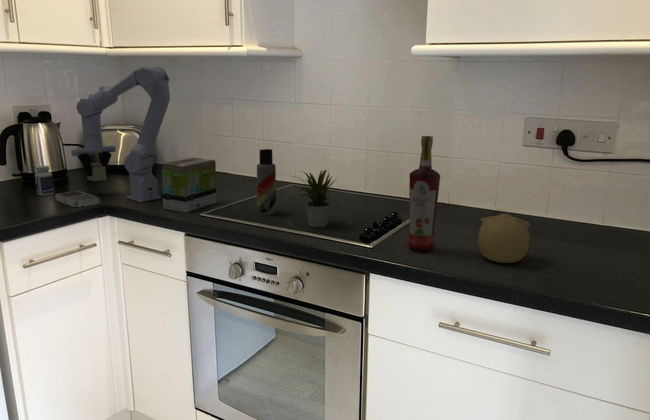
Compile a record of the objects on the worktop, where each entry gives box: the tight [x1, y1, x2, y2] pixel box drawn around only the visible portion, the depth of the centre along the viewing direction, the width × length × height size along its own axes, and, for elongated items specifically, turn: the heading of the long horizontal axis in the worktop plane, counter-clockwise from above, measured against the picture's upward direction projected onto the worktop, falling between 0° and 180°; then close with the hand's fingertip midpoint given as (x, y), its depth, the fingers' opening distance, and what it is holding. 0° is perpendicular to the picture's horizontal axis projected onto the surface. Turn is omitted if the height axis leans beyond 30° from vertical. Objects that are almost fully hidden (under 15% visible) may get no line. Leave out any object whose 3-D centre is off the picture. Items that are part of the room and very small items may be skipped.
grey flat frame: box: [54, 190, 101, 208], centre depth 174 cm, size 15×8×2 cm, turn 49°
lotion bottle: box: [256, 148, 277, 216], centre depth 161 cm, size 6×6×20 cm
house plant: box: [291, 169, 338, 228], centre depth 151 cm, size 14×14×16 cm
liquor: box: [406, 135, 441, 253], centre depth 128 cm, size 7×7×28 cm
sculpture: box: [477, 213, 531, 264], centre depth 124 cm, size 11×12×11 cm
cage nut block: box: [86, 162, 107, 182], centre depth 181 cm, size 4×4×6 cm
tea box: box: [161, 157, 217, 213], centre depth 169 cm, size 15×10×15 cm, turn 155°
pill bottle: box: [34, 165, 55, 197], centre depth 183 cm, size 5×5×10 cm
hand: (96, 174), depth 181 cm, fingers closed on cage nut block, 4 cm apart
